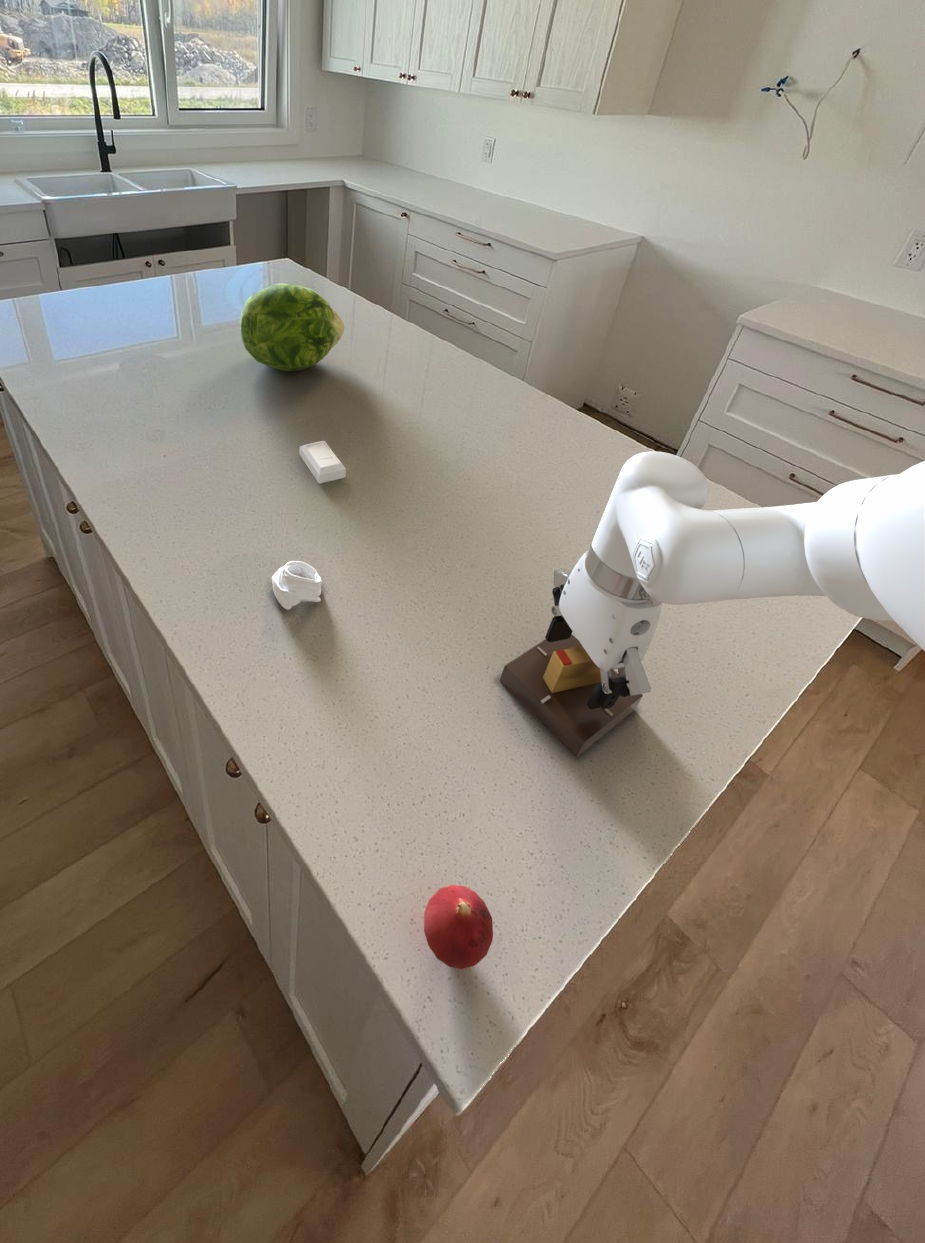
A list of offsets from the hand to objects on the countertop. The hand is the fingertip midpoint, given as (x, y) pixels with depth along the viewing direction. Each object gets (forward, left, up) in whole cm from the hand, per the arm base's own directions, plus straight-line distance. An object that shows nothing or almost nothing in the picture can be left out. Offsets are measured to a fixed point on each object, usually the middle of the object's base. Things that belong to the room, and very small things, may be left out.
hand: (577, 670), depth 74 cm
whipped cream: (+32, +19, -5) cm, 38 cm away
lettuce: (+92, -16, -5) cm, 94 cm away
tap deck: (0, 0, -5) cm, 5 cm away
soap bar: (+55, 0, -5) cm, 55 cm away
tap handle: (0, 0, -2) cm, 2 cm away
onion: (-11, +29, -5) cm, 31 cm away
